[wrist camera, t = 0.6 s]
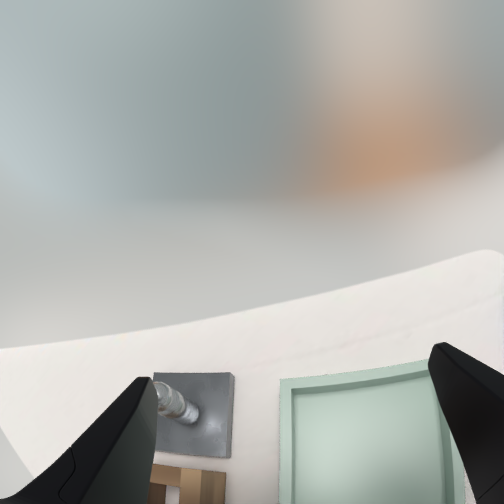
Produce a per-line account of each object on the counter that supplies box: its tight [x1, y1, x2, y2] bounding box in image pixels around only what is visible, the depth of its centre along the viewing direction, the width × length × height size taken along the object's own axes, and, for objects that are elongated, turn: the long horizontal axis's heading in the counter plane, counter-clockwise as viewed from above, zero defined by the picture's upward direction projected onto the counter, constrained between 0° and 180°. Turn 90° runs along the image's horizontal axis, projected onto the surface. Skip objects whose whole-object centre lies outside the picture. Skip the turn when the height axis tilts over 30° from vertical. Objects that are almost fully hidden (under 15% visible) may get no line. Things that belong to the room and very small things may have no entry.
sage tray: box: [279, 359, 465, 504], centre depth 18 cm, size 13×13×2 cm
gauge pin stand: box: [153, 372, 234, 458], centre depth 22 cm, size 7×7×7 cm
